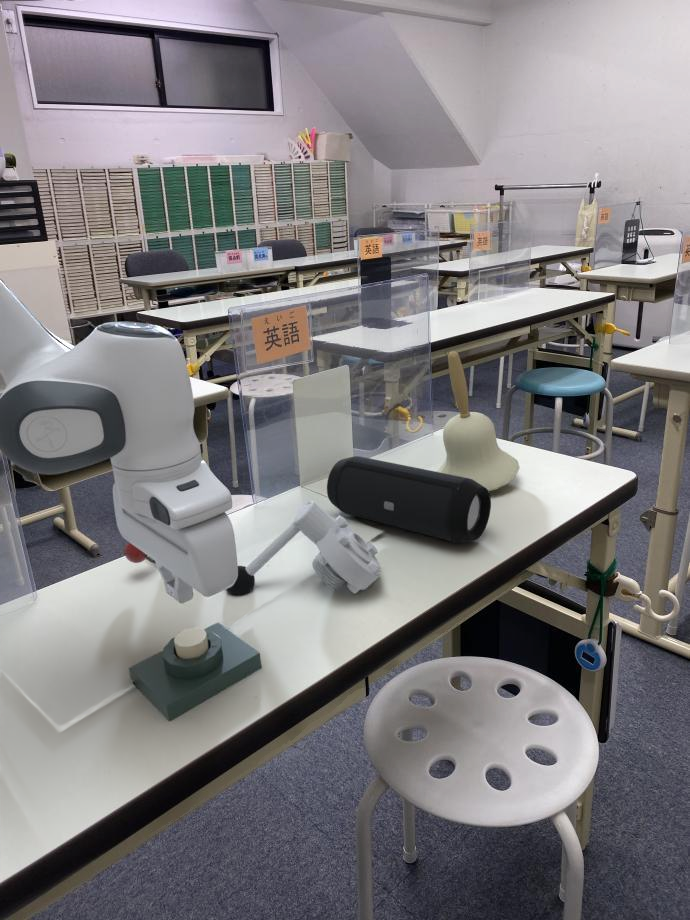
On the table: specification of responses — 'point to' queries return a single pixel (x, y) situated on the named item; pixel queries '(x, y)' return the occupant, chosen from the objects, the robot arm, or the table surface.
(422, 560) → the table surface
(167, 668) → the control block
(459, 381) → the handbell
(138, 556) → the lever
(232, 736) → the table surface
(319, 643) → the table surface
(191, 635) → the button
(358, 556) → the mechanical valve
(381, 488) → the portable speaker
